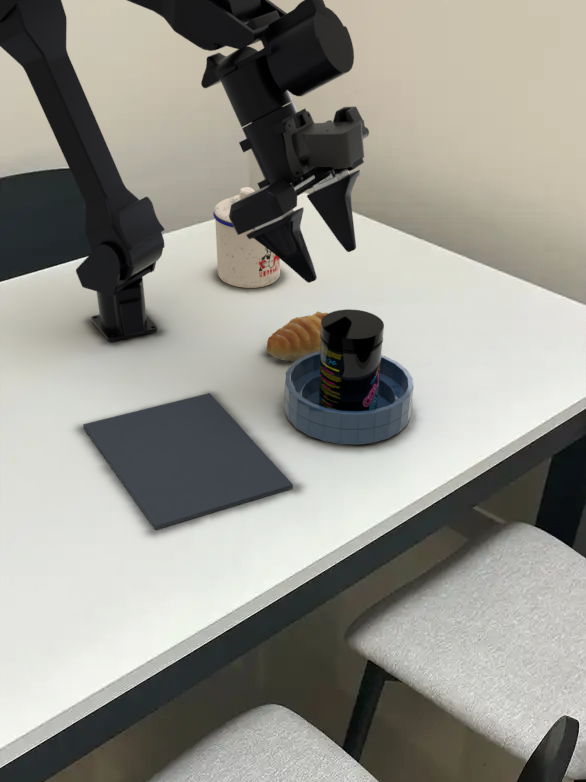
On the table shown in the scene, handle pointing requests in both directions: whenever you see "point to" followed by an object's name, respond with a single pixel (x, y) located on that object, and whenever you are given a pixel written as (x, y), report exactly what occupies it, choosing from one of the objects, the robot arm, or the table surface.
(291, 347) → the pastry
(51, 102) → the robot arm
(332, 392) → the supplement container
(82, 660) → the table surface
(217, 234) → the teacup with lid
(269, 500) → the table surface
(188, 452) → the placemat
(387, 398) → the bowl
